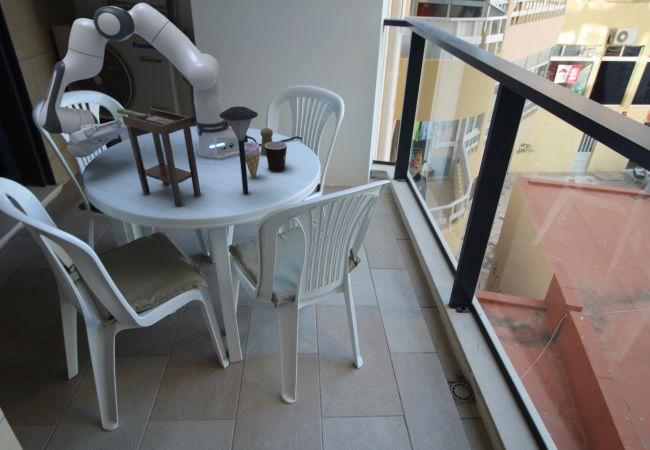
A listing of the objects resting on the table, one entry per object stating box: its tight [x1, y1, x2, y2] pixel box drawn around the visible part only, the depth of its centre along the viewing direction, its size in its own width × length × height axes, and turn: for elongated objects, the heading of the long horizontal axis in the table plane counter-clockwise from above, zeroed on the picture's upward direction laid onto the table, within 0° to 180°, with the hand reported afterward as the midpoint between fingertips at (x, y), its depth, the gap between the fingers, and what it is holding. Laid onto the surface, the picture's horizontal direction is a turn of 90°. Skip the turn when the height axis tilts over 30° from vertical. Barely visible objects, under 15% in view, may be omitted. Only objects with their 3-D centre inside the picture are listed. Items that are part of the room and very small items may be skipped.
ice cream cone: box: [245, 140, 261, 179], centre depth 147 cm, size 7×6×15 cm
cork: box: [260, 127, 274, 157], centre depth 169 cm, size 6×6×11 cm
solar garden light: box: [219, 106, 259, 196], centre depth 132 cm, size 12×12×30 cm
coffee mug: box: [265, 140, 288, 173], centre depth 157 cm, size 12×9×10 cm
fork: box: [116, 108, 175, 125], centre depth 126 cm, size 24×4×1 cm, turn 61°
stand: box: [121, 107, 202, 208], centre depth 130 cm, size 18×11×28 cm, turn 61°
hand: (108, 124), depth 137 cm, fingers open, 8 cm apart
